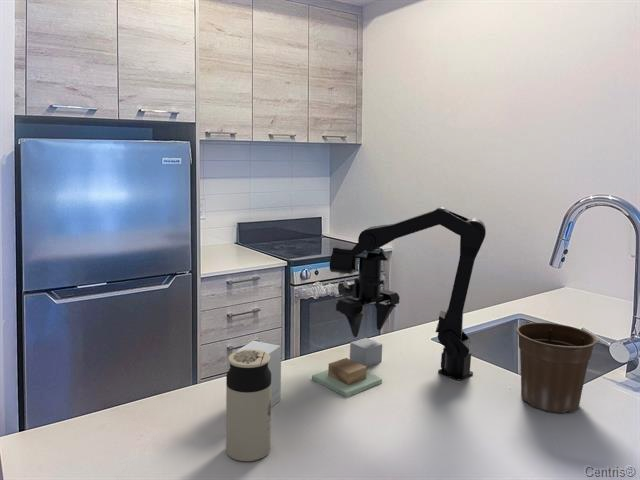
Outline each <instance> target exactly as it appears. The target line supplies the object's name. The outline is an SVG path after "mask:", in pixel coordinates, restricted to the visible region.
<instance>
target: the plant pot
mask: <svg viewBox="0 0 640 480" xmlns="http://www.w3.org/2000/svg"><path fill="white" fill-rule="evenodd" d="M516 333H517V335H518V348H519V349H520V353H519V354H520V356H519V357H520V388H521V389H520V393H521V394H520V396H521V399H522V400H523V401H524V402H527V403H528V404H529V406H530V407H533V408H536V409H538V410H540V411H543V412H549V413H556V414H564V413H566V412H570V413H574V412H576V411H577V410H578V409H579V407H580V404H581V398H582V394H583V393H582V392H583V388H584V383H585V379H586V374H587V369H588V365H589V361H590V360H591V358H592V354H593V349H594V346H595V345H596V344H597V338H596V337H595V336H594V335H593V334H592V333H590V332H588V331H586V330H583V329H581V328H577V327H574V326H569V325H565V324H559V323H555V322H554V323H553V322H527V323H523V324H520V325H518V326H517V327H516Z"/></svg>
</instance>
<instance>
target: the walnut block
mask: <svg viewBox="0 0 640 480" xmlns="http://www.w3.org/2000/svg"><path fill="white" fill-rule="evenodd" d="M327 367H328V368H327V370H328V376H330V377H332V378H334V379H336V380H338V381H340V382H342V383H345V384H347V385H351V384H353V383H356V382H359V381H361V380H364V379H366V372H367V370H368V369H367V367H368V366H367V367H366V366H364V365H361V364H359V363H357V362H354V361H352V360H350V358H347V357H346V358H341V359H339V360H336V361H332V362H330V363H328V366H327Z"/></svg>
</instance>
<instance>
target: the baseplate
mask: <svg viewBox="0 0 640 480" xmlns="http://www.w3.org/2000/svg"><path fill="white" fill-rule="evenodd" d="M311 380H313V381H314V382H317V383H318V384H320V385H322V386H324V387H326V388H328V389H330V390H332V391H334V392H336V393H338V394H340V395H341V396H344V397H345V398H348V397H350V396H353V395H355V394H357V393H360V392H362V391H364V390H368V389H370V388H372V387H376V386H377V385H381V384H382V383H383V378H382V377H378V376H376V375H374V374H373V373H370V372H367V371H366V379H364V380H361V381H359V382H356V383H353V384H351V385H347V384H345V383H342V382H340V381H338V380H336V379H334V378H332V377H330V376H328V369H326V370H322V371H320V372H317V373H315V374H311Z"/></svg>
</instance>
